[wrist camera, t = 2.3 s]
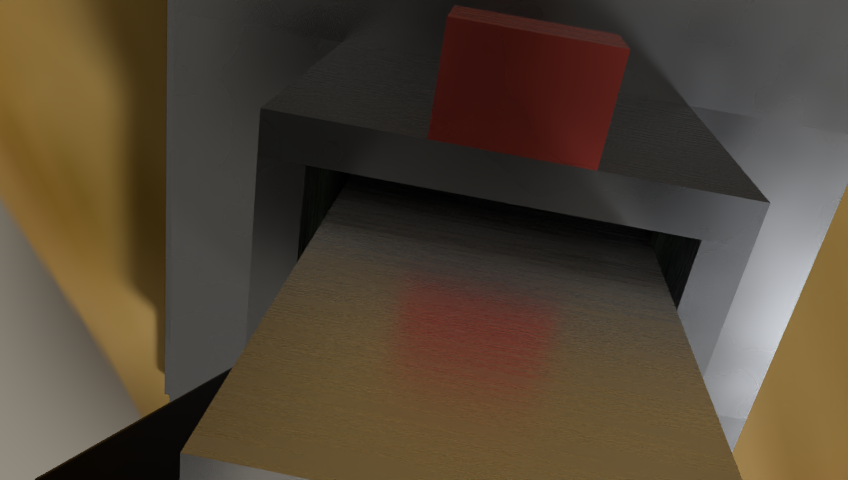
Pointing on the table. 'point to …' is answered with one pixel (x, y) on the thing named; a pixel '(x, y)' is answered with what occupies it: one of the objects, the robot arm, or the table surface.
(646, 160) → the jack stand base
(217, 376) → the robot arm
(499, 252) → the column
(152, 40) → the table surface
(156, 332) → the table surface
